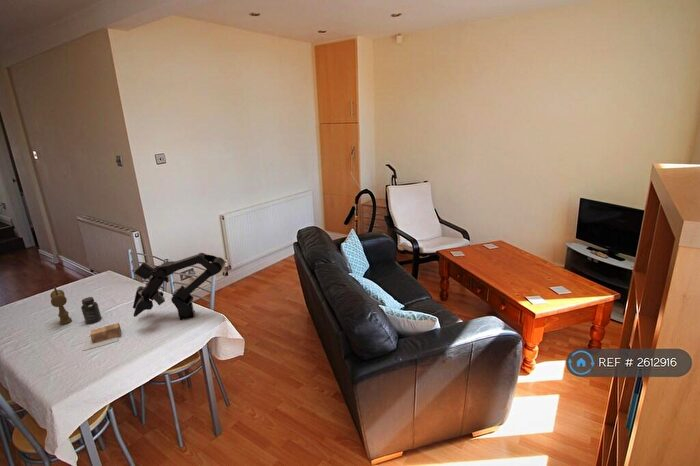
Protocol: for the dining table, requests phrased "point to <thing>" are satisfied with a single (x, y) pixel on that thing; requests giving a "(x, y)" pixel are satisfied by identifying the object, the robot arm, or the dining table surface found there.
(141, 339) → the dining table surface
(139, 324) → the dining table surface
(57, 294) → the kendama
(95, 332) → the walnut block
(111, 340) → the felt pad
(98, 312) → the supplement bottle
